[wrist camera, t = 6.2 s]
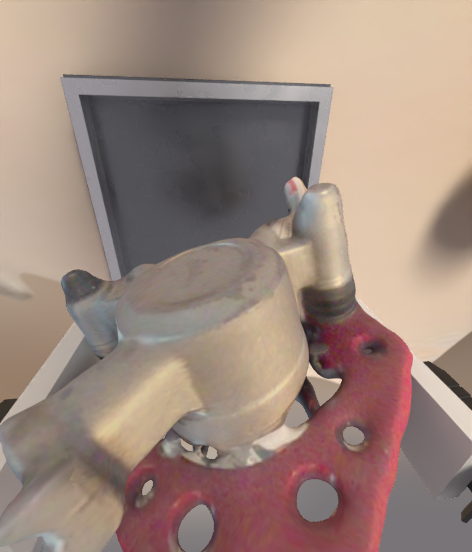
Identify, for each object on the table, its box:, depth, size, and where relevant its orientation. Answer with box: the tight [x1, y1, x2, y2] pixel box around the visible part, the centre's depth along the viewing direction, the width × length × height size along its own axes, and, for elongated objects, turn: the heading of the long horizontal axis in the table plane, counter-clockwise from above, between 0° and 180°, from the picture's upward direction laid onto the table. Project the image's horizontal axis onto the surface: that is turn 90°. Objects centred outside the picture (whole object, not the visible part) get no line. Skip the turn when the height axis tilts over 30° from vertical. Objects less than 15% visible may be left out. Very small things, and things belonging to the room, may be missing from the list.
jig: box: [60, 74, 333, 281], centre depth 26 cm, size 22×22×3 cm
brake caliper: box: [0, 177, 413, 552], centre depth 9 cm, size 11×11×12 cm
